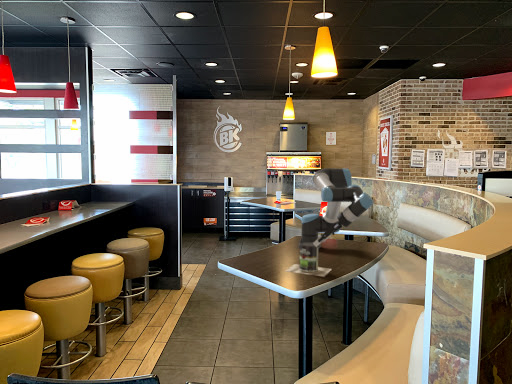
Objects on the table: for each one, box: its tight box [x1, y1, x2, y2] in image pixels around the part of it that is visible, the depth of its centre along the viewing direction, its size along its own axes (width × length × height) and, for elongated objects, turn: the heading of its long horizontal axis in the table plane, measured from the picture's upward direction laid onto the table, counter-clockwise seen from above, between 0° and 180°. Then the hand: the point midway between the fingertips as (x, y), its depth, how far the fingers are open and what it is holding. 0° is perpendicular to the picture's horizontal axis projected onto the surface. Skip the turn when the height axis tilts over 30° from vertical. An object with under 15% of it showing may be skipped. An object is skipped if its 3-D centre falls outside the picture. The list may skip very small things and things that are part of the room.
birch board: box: [284, 263, 332, 278], centre depth 215 cm, size 22×16×1 cm
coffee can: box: [298, 242, 319, 272], centre depth 215 cm, size 10×10×14 cm
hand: (318, 242), depth 211 cm, fingers open, 13 cm apart
